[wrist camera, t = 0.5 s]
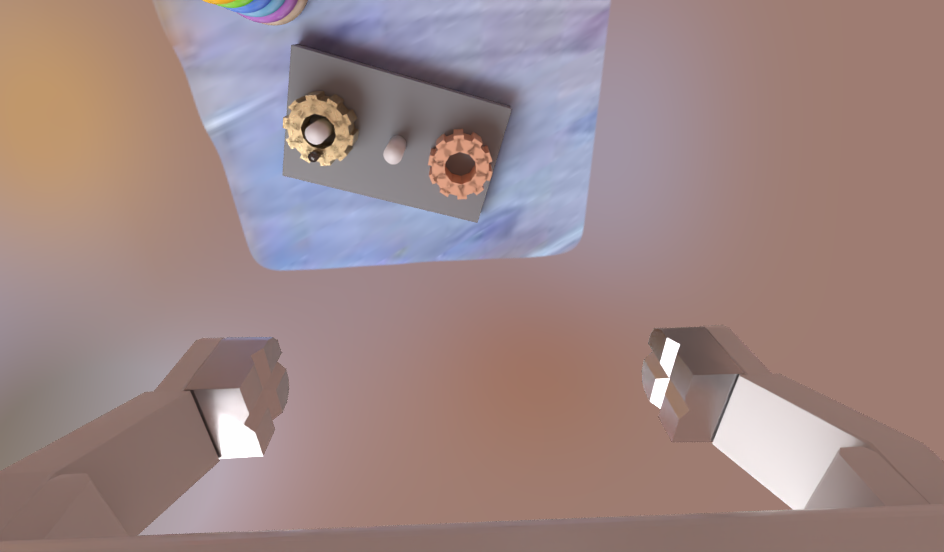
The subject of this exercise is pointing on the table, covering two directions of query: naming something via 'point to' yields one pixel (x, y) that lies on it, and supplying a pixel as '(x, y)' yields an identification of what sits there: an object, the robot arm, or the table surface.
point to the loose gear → (454, 182)
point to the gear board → (391, 132)
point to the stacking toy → (264, 9)
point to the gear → (335, 114)
